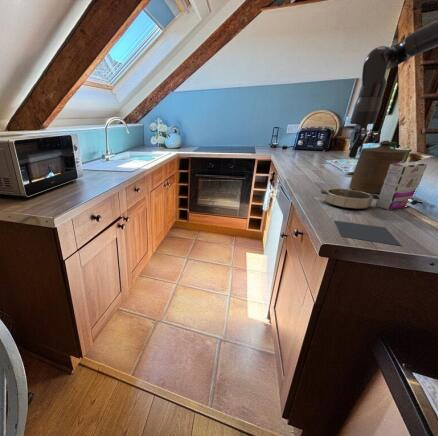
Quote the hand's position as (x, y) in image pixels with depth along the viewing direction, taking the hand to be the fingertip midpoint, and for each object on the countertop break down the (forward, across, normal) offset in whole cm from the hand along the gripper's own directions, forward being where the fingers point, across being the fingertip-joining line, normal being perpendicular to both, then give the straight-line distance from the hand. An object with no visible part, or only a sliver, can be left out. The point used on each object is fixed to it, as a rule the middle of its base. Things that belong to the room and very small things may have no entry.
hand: (351, 157), depth 98 cm
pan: (+17, -11, 0) cm, 20 cm away
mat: (+17, -38, 0) cm, 42 cm away
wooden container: (+17, +19, -14) cm, 29 cm away
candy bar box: (+17, -7, -15) cm, 24 cm away
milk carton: (+17, +37, -19) cm, 45 cm away
